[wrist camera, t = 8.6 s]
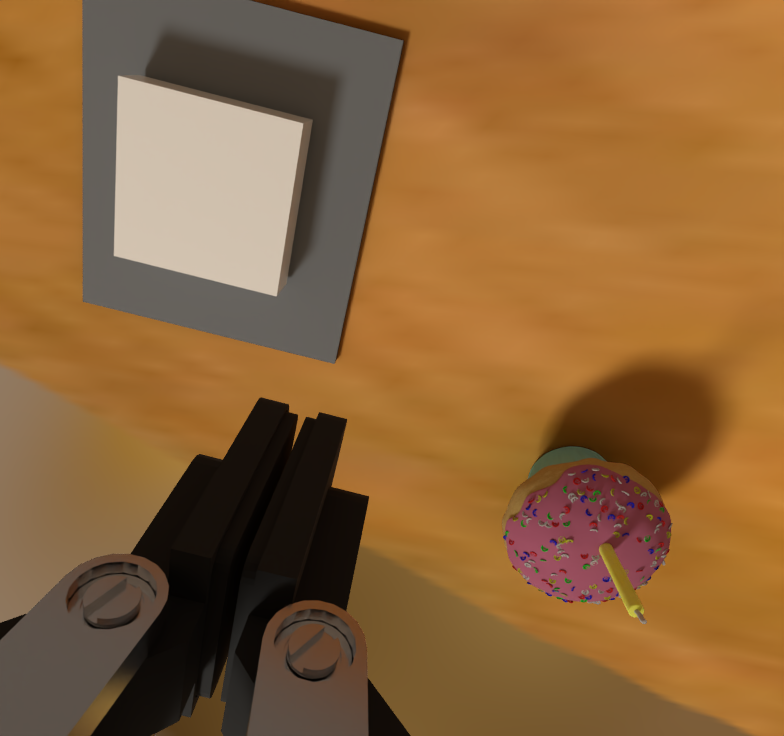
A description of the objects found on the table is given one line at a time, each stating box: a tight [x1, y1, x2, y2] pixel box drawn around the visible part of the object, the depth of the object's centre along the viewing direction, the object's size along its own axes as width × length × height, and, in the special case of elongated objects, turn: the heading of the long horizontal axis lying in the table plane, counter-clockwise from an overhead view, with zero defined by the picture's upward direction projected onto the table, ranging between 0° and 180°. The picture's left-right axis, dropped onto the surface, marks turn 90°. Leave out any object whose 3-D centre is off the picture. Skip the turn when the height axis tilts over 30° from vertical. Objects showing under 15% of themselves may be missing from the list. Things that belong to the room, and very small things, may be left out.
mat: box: [83, 0, 404, 364], centre depth 30 cm, size 16×14×1 cm
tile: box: [114, 75, 313, 296], centre depth 29 cm, size 8×2×8 cm
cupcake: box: [502, 446, 673, 624], centre depth 31 cm, size 9×8×12 cm
